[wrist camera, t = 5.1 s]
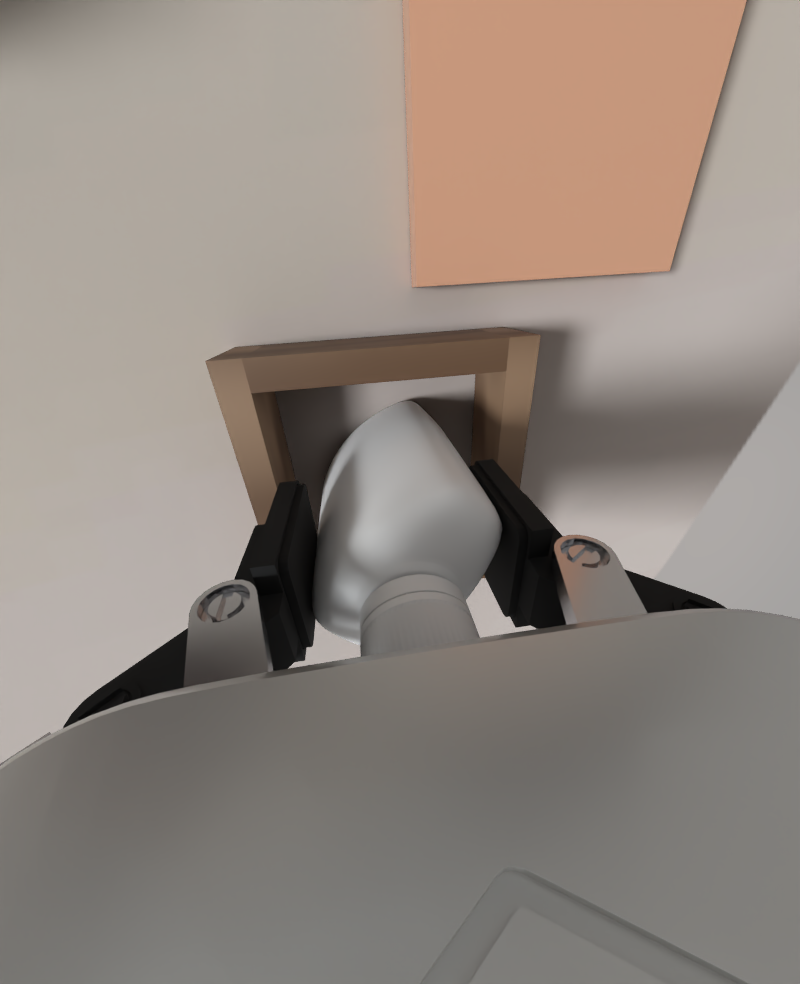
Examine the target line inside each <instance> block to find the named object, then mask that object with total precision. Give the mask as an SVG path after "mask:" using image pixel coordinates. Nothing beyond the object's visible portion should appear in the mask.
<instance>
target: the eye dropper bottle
mask: <svg viewBox="0 0 800 984" xmlns="http://www.w3.org/2000/svg"><path fill="white" fill-rule="evenodd" d="M501 533H502V523H501V520H500V518H499V515H498V513H497V511H496V509H495V507H494V505H493V504H492V502H491V501H490V499H489V498H488V496H487V495H486V493H485V491H484V490H483V488H482V487H481V485H480V484H479V482H478V481H477V480H476V478H475V477H474V475H473V474H472V472H471V471H470V469H469V468H468V466H467V465H466V463H465V462H464V460H463V459H462V458H461V456H460V455H459V453H458V452H457V450H456V449H455V447H454V446H453V445H452V443H451V442H450V440H449V439H448V437H447V436H446V434H445V433H444V432H443V430H442V429H441V427H440V426H439V425H438V424H437V423H436V422H435V421H434V420H433V419H432V418H431V417H430V416H429V415H428V414H427V413H426V412H425V411H424V410H423V409H422V408H421V407H420V406H419V405H418V404H416V403H414V402H412V401H402V402H399V403H396V404H394V405H392V406H390V407H387V408H386V409H384V410H382V411H380V412H378V413H377V414H375V415H373V416H372V417H370V418H369V419H368V420H366V421H365V422H364V423H362V424H361V425H360V426H359V427H358V428H357V429H356V430H355V431H354V432H353V433H352V434H351V435H350V436H349V437H348V438H347V439H346V441H345V442H344V443H343V444H342V446H341V447H340V449H339V450H338V452H337V453H336V455H335V457H334V459H333V461H332V462H331V465H330V467H329V469H328V472H327V474H326V477H325V481H324V485H323V493H322V501H321V510H320V518H319V527H318V536H317V538H318V539H317V548H316V557H315V566H314V576H313V587H312V608H313V613H314V616H315V618H316V620H317V621H318V622H319V623H320V624H321V625H322V626H323V627H324V628H325V629H327V630H328V631H330V632H331V633H333V634H335V635H337V636H339V637H340V638H343V639H345V640H347V641H349V642H352V643H355V644H358V645H360V647H361V657H363V656H369V655H375V654H382V653H388V652H394V651H401V650H407V649H413V648H420V647H426V646H432V645H438V644H445V643H451V642H458V641H464V640H470V639H477V638H480V637H479V634H478V631H477V629H476V626H475V624H474V621H473V618H472V616H471V613H470V611H469V608H468V605H467V603H466V599H467V598H468V597H469V595H470V594H471V593H472V591H473V590H474V589H475V587H476V586H477V584H478V583H479V581H480V580H481V578H482V576H483V575H484V573H485V572H486V570H487V568H488V566H489V564H490V562H491V560H492V559H493V557H494V555H495V552H496V550H497V548H498V545H499V543H500V539H501Z"/></svg>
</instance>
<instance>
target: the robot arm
mask: <svg viewBox="0 0 800 984" xmlns="http://www.w3.org/2000/svg"><path fill="white" fill-rule="evenodd" d="M469 469H470V471H471V472H472V474H473V475H474V477H475V478H476V480H477V481H478V482H479V484H480V485H481V487H482V488H483V490H484V491H485V493H486V495H487V496H488V498H489V499H490V501H491V502H492V504H493V505H494V507H495V509H496V511H497V513H498V515H499V518H500V520H501V523H502V533H501V539H500V543H499V545H498V548H497V550H496V552H495V555H494V557H493V559H492V560H491V562H490V564H489V566H488V568H487V570H486V572H485V573H484V575H485V577H486V580H487V582H488V584H489V586H490V588H491V590H492V592H493V594H494V596H495V598H496V600H497V602H498V604H499V606H500V608H501V610H502V612H503V614H504V615H505V616H506V617H508V616H510V617H511V619H512V621H513V623H514V625H515V627H522V626H528V625H531V626H533V627H535V628H536V629H535V630H529V631H522V632H516V633H509V634H502V635H496V636H490V637H483V638H477V639H470V640H464V641H458V642H451V643H445V644H438V645H432V646H426V647H420V648H413V649H407V650H401V651H394V652H388V653H382V654H375V655H369V656H363V657H357V658H351V659H345V660H339V661H332V662H326V663H320V664H314V665H308V666H302V667H296V668H289V667H290V666H291V665H292V664H293V663H294V662H298V661H304V660H305V655H306V647H312V646H313V640H314V629H315V616H314V613H313V608H312V587H313V576H314V566H315V557H316V548H317V539H318V538H317V533H316V529H315V524H314V520H313V515H312V511H311V506H310V502H309V497H308V493H307V488H306V485H305V484H302V485H300V484H299V482H298V481H289V482H280V483H279V485H278V488H277V491H276V494H275V496H274V499H273V502H272V505H271V508H270V511H269V514H268V516H267V519H266V522H265V524H262V525H257V526H255V528H254V530H253V533H252V535H251V538H250V540H249V543H248V546H247V548H246V551H245V553H244V556H243V558H242V561H241V564H240V566H239V569H238V571H237V574H236V576H235V579H234V580H230V581H226V582H222V583H220V584H218V585H215V586H213V587H211V588H210V589H208V590H207V591H205V592H204V593H203V594H202V595H201V596H199V597H198V598H197V599H196V601H195V602H194V604H193V605H192V607H191V610H190V613H189V623H188V628H187V629H186V630H184V631H183V632H182V633H180V634H179V635H177V636H176V637H174V638H173V639H171V640H170V641H168V642H167V643H166V644H164V645H163V646H161V647H160V648H158V649H157V650H155V651H154V652H152V653H151V654H149V655H148V656H147V657H145V658H144V659H142V660H141V661H139V662H138V663H136V664H135V665H133V666H132V667H131V668H129V669H128V670H126V671H125V672H123V673H122V674H120V675H119V676H117V677H116V678H115V679H113V680H112V681H110V682H109V683H107V684H106V685H104V686H103V687H101V688H100V689H98V690H97V691H96V692H94V693H93V694H92V695H91V696H89V697H88V698H87V699H86V700H84V701H83V702H82V703H81V704H80V705H79V707H78V708H77V709H76V710H75V711H74V712H73V713H72V714H71V716H70V717H69V719H68V721H67V722H66V724H65V725H64V727H63V729H61V730H59V731H56V732H54V733H52V734H51V733H50V732H49V733H47V734H46V735H44V736H43V737H41V738H40V739H38V740H36V741H35V742H33V743H32V744H30V745H29V746H27V747H26V748H24V749H23V750H21V751H19V752H18V753H16V754H15V755H13V756H12V757H10V758H9V759H7V760H6V761H4V762H2V763H1V764H0V984H800V619H796V618H792V617H788V616H783V615H777V614H771V613H765V612H758V611H752V610H741V609H727V608H725V607H724V606H722V605H720V604H719V603H717V602H715V601H713V600H710V599H708V598H706V597H703V596H700V595H698V594H695V593H692V592H689V591H686V590H683V589H680V588H677V587H674V586H671V585H668V584H665V583H662V582H660V581H657V580H654V579H651V578H648V577H645V576H642V575H639V574H636V573H633V572H630V571H627V570H624V568H623V567H622V565H621V563H620V561H619V559H618V557H617V556H616V554H615V553H614V551H613V550H612V549H611V548H610V547H609V546H607V545H606V544H605V543H603V542H601V541H599V540H597V539H594V538H591V537H588V536H582V535H567V536H562V535H561V534H560V533H559V532H558V530H557V529H556V528H555V527H554V526H553V525H552V524H551V523H550V521H549V520H548V519H547V518H546V517H545V516H544V515H543V514H542V512H541V511H540V510H539V509H538V508H537V507H536V506H535V505H534V503H533V502H532V501H531V500H530V499H529V498H528V497H527V496H526V495H525V494H524V493H523V492H522V491H521V490H520V489H519V488H518V487H517V485H516V484H515V483H514V482H513V481H512V480H511V479H510V478H509V476H508V475H507V474H506V473H505V472H504V471H503V470H502V468H501V467H500V466H499V465H498V464H497V463H496V462H495V460H493V459H488V460H479V461H475V463H474V465H472V466H470V467H469ZM288 668H289V669H288Z"/></svg>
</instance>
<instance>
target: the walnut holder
mask: <svg viewBox="0 0 800 984" xmlns="http://www.w3.org/2000/svg"><path fill="white" fill-rule="evenodd" d="M540 337H541V335H538V334H533V333H529V332H524V331H519V330H515V329H510V328H505V327H497V328H484V329H471V330H458V331H444V332H431V333H418V334H404V335H391V336H378V337H364V338H351V339H338V340H325V341H311V342H298V343H285V344H271V345H258V346H245V347H234V348H232V349H230V350H228V351H226V352H224V353H222V354H220V355H217V356H215V357H213V358H211V359H209V360H207V361H206V365H207V368H208V371H209V374H210V377H211V380H212V383H213V386H214V389H215V392H216V396H217V399H218V402H219V405H220V408H221V411H222V414H223V417H224V420H225V423H226V427H227V430H228V433H229V436H230V439H231V442H232V445H233V448H234V451H235V454H236V458H237V461H238V464H239V467H240V470H241V473H242V476H243V479H244V482H245V485H246V489H247V492H248V495H249V498H250V501H251V504H252V507H253V510H254V513H255V516H256V520H257V523H258V525H262V524H265V522H266V519H267V516H268V514H269V511H270V508H271V505H272V502H273V499H274V496H275V494H276V491H277V488H278V485H279V483H280V482H289V481H296V480H295V476H294V472H293V468H292V463H291V459H290V455H289V451H288V446H287V442H286V438H285V434H284V429H283V425H282V421H281V417H280V413H279V408H278V404H277V400H276V396H275V391H284V390H296V389H308V388H319V387H331V386H342V385H354V384H365V383H377V382H389V381H400V380H412V379H423V378H435V377H446V376H458V375H469V374H476V375H475V394H474V413H473V432H472V450H471V466H472V465H474V463H475V461H479V460H488V459H493V460H495V462H496V463H497V464H498V465H499V466H500V467H501V468H502V470H503V471H504V472H505V473H506V474H507V475H508V476H509V478H510V479H511V480H512V481H513V482H514V483H515V484H516V485H517V487H518V488H519V489H520V482H521V475H522V468H523V460H524V453H525V446H526V439H527V431H528V424H529V417H530V410H531V402H532V395H533V388H534V381H535V373H536V366H537V359H538V352H539V344H540ZM482 578H486V577H485V575H483V576H482Z"/></svg>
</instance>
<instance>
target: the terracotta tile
mask: <svg viewBox="0 0 800 984" xmlns="http://www.w3.org/2000/svg"><path fill="white" fill-rule="evenodd" d="M746 1H747V0H402V3H403V34H404V64H405V95H406V125H407V156H408V186H409V216H410V247H411V277H412V287H427V286H443V285H458V284H474V283H490V282H506V281H521V280H537V279H553V278H569V277H584V276H600V275H616V274H631V273H647V272H661V271H670V268H671V264H672V261H673V257H674V253H675V250H676V246H677V243H678V239H679V236H680V232H681V229H682V225H683V222H684V218H685V215H686V211H687V208H688V204H689V201H690V197H691V194H692V190H693V187H694V183H695V180H696V176H697V173H698V169H699V166H700V162H701V159H702V155H703V152H704V148H705V145H706V141H707V138H708V134H709V131H710V127H711V124H712V120H713V117H714V113H715V110H716V106H717V103H718V99H719V96H720V92H721V89H722V85H723V82H724V78H725V75H726V71H727V68H728V64H729V61H730V57H731V54H732V50H733V47H734V43H735V40H736V36H737V33H738V29H739V26H740V22H741V19H742V15H743V12H744V8H745V5H746Z"/></svg>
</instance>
